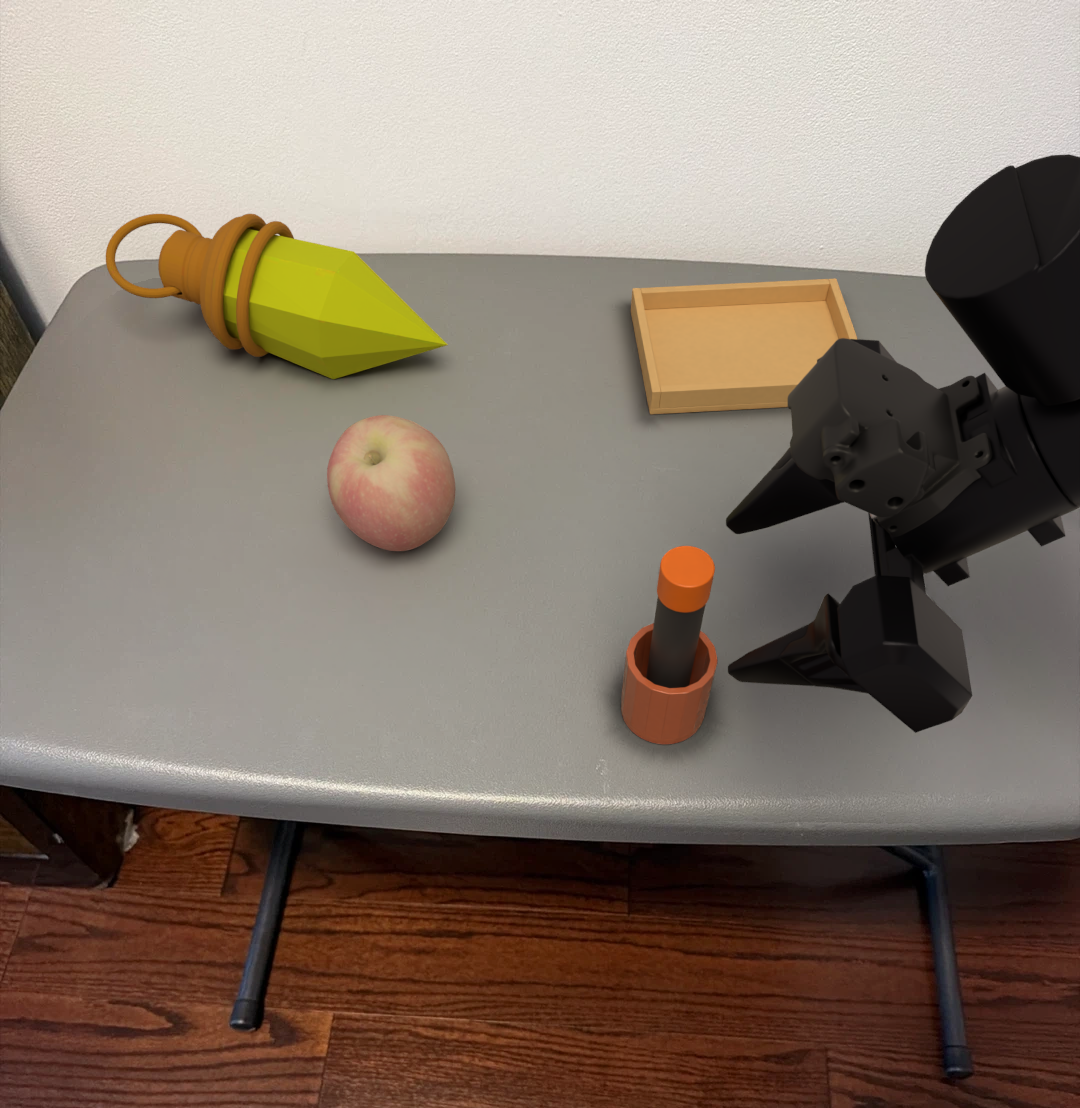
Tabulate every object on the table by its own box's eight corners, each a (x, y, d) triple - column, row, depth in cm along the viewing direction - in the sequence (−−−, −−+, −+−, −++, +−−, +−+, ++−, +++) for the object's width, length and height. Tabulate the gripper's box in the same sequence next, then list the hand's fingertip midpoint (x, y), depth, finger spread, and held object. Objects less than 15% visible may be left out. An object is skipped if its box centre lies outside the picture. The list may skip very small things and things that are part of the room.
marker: (683, 683, 62) (710, 543, 52) (689, 721, 61) (719, 585, 51) (638, 685, 62) (657, 546, 52) (643, 724, 61) (664, 588, 51)
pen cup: (697, 672, 63) (709, 617, 59) (710, 741, 61) (723, 690, 56) (616, 677, 63) (622, 623, 59) (626, 747, 61) (632, 696, 56)
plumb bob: (469, 333, 80) (154, 239, 81) (468, 246, 72) (115, 142, 73) (429, 434, 78) (104, 336, 79) (423, 356, 69) (57, 246, 70)
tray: (830, 301, 81) (836, 277, 80) (865, 403, 76) (872, 380, 74) (630, 311, 81) (632, 287, 79) (649, 414, 75) (652, 392, 73)
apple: (329, 498, 71) (307, 403, 64) (443, 475, 72) (433, 379, 65) (352, 589, 67) (330, 498, 60) (472, 563, 68) (464, 470, 61)
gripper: (925, 165, 44) (631, 369, 53) (989, 506, 34) (614, 680, 43) (1044, 338, 50) (762, 493, 60) (1128, 668, 40) (773, 788, 50)
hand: (731, 597), depth 53 cm, fingers open, 9 cm apart
